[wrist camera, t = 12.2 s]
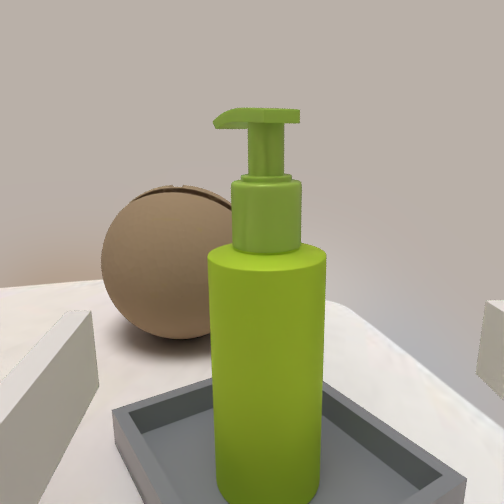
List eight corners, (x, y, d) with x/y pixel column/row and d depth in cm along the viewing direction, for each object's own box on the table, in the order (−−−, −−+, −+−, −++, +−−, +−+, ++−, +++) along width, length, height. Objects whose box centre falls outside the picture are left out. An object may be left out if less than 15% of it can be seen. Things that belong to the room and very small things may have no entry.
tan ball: (288, 334, 44) (290, 185, 40) (155, 389, 35) (142, 200, 31) (203, 295, 55) (199, 175, 51) (85, 328, 46) (69, 184, 42)
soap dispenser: (274, 420, 30) (274, 113, 25) (341, 488, 24) (358, 103, 19) (193, 450, 27) (175, 111, 22) (247, 536, 21) (238, 99, 16)
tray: (115, 443, 28) (111, 409, 28) (283, 382, 36) (283, 354, 35) (235, 690, 16) (234, 639, 15) (461, 518, 23) (467, 478, 22)
